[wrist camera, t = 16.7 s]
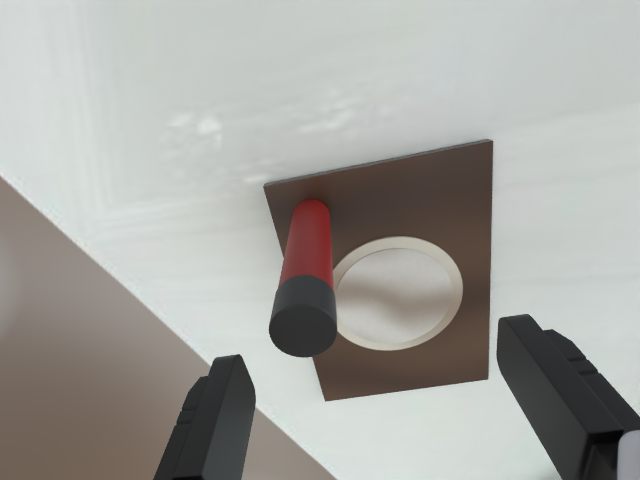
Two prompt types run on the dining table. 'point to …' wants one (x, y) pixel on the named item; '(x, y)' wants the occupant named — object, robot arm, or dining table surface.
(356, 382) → the brown flat rectangular board
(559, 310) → the dining table surface
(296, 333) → the marker
